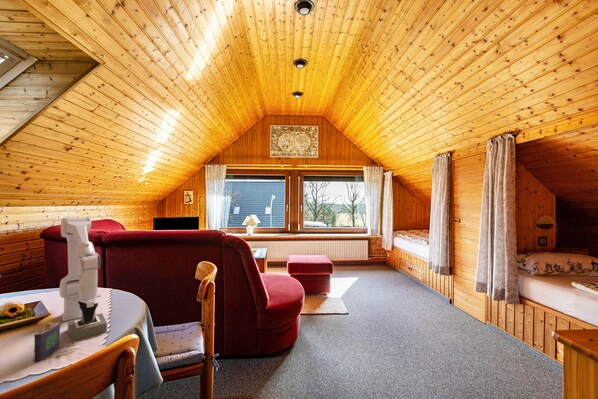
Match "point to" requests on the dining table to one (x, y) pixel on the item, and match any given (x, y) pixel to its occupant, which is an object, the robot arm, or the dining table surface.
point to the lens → (87, 322)
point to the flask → (47, 341)
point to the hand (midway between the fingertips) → (87, 319)
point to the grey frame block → (86, 328)
